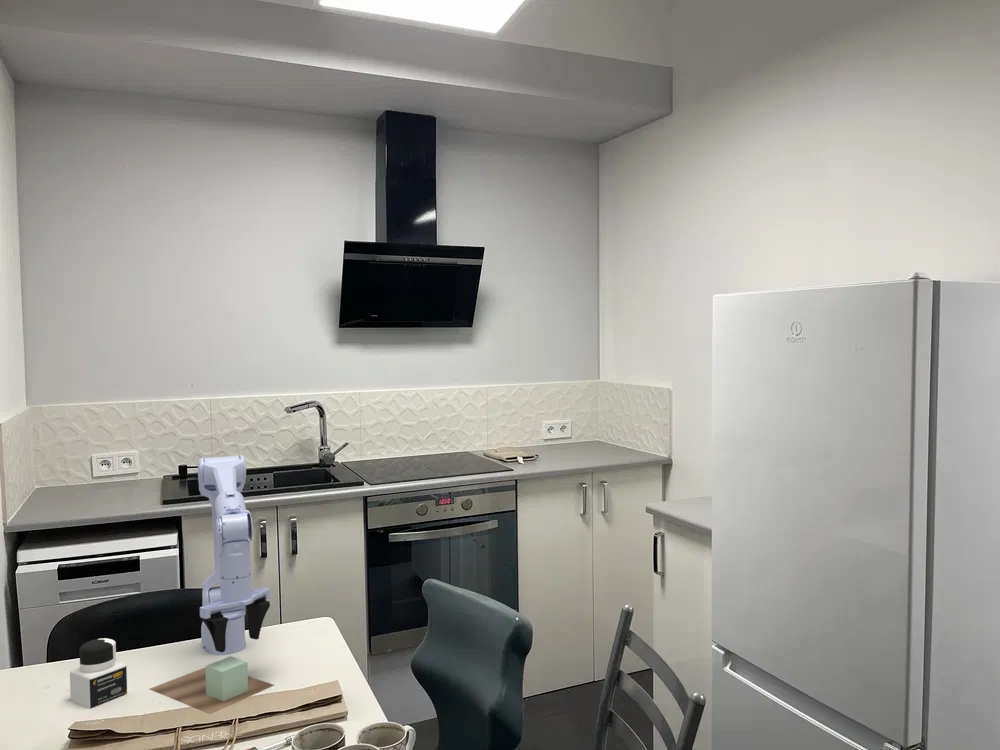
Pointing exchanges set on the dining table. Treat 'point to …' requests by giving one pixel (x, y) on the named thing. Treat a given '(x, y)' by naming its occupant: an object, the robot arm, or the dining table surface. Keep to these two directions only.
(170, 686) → the base board
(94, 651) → the medicine bottle
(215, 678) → the mint green cube
